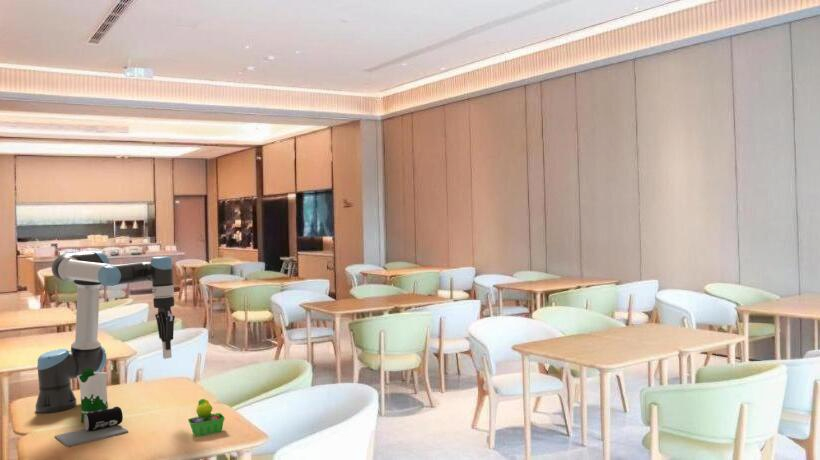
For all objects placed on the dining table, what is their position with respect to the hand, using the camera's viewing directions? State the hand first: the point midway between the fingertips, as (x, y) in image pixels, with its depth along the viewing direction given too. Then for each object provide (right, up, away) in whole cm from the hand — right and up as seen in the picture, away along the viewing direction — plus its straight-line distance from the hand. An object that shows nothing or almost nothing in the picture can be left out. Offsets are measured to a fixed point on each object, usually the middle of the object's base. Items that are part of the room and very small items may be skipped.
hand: (167, 357), depth 263 cm
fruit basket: (+22, -22, -23) cm, 38 cm away
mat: (-20, -24, -19) cm, 37 cm away
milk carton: (-27, -24, -1) cm, 36 cm away
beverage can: (-14, -20, -9) cm, 26 cm away
